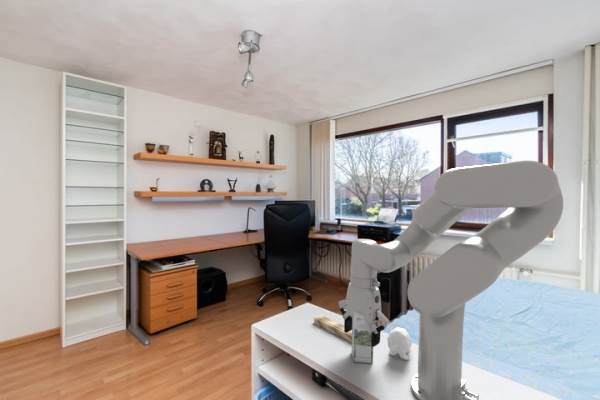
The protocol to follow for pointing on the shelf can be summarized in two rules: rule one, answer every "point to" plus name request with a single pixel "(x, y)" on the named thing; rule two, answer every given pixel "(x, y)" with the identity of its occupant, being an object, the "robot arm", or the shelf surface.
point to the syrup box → (361, 340)
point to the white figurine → (399, 342)
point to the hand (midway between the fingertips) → (361, 337)
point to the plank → (333, 327)
